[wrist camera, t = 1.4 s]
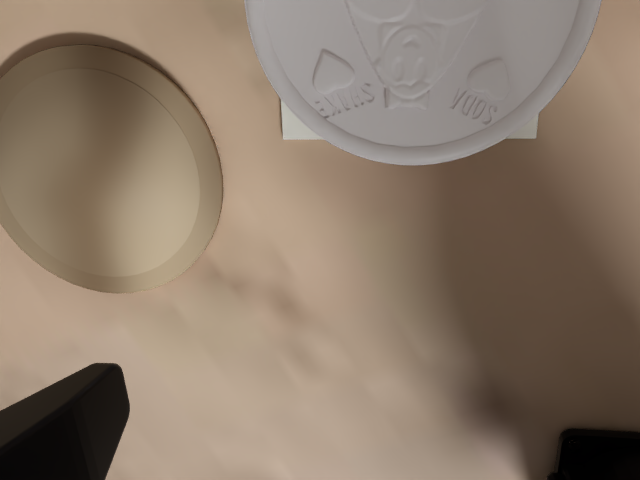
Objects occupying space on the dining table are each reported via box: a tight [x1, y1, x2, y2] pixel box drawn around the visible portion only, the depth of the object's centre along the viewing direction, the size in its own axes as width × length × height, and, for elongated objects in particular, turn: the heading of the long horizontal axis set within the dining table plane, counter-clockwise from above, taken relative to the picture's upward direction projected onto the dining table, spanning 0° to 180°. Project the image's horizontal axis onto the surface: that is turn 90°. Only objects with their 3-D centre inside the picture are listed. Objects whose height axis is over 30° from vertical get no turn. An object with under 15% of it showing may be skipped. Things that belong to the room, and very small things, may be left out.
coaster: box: [0, 45, 223, 293], centre depth 23 cm, size 10×10×1 cm
